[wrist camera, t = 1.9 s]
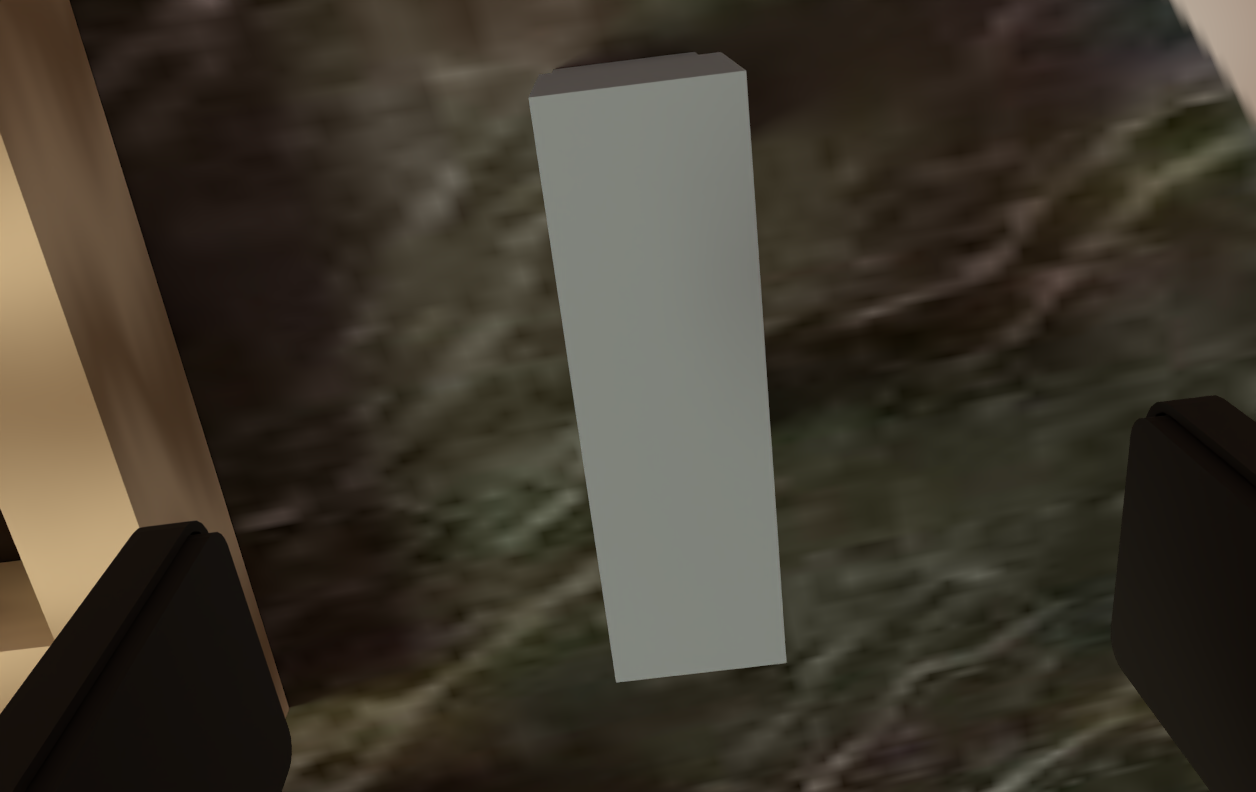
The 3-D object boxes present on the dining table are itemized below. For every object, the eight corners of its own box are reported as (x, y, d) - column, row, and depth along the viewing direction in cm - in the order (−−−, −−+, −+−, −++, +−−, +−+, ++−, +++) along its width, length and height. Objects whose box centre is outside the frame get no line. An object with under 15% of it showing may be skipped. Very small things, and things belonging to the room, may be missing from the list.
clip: (729, 457, 25) (786, 662, 18) (609, 472, 25) (616, 682, 18) (693, 31, 21) (746, 70, 14) (550, 49, 21) (528, 97, 14)
